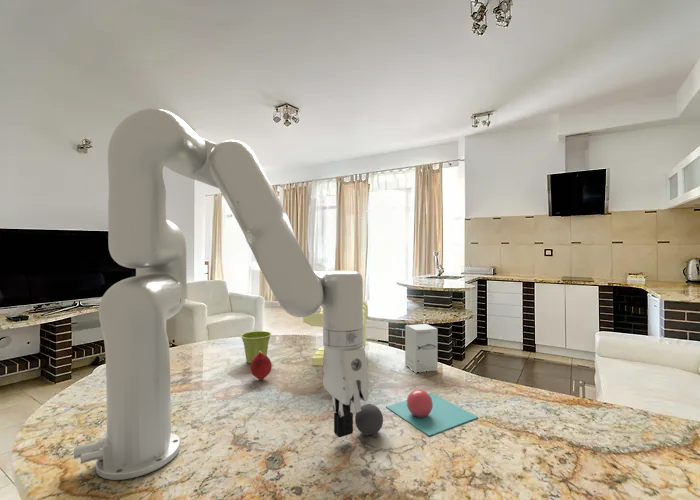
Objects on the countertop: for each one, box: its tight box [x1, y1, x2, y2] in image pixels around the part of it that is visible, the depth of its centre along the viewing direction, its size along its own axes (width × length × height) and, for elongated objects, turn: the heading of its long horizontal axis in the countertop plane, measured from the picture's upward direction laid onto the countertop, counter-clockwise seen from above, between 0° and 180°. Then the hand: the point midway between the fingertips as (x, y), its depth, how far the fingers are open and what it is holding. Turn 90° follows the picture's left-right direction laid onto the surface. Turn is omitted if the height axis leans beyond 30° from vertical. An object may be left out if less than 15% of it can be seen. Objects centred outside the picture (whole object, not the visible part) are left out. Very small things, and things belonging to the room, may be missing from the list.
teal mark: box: [385, 392, 479, 437], centre depth 76 cm, size 14×14×1 cm
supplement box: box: [404, 323, 439, 374], centre depth 103 cm, size 7×7×13 cm
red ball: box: [406, 389, 433, 418], centre depth 74 cm, size 6×6×6 cm
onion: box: [249, 351, 273, 381], centre depth 95 cm, size 6×6×8 cm
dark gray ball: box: [354, 403, 384, 436], centre depth 67 cm, size 6×6×6 cm
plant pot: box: [240, 330, 272, 364], centre depth 110 cm, size 9×9×9 cm
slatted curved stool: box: [302, 299, 369, 367], centre depth 112 cm, size 30×16×18 cm, turn 172°
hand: (343, 433), depth 65 cm, fingers closed
